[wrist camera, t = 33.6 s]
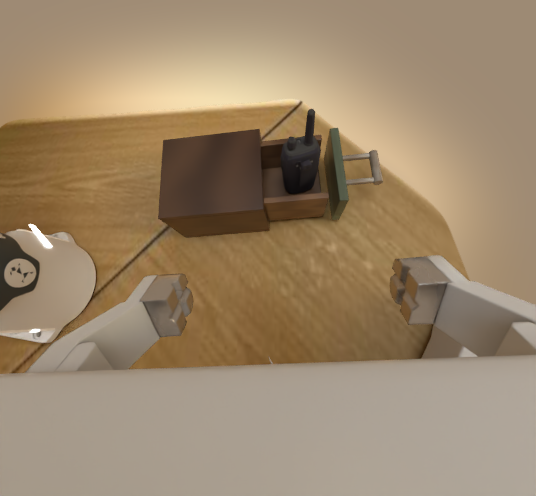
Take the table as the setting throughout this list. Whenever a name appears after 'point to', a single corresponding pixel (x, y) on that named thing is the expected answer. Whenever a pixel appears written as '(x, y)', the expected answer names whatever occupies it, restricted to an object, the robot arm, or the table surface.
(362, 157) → the drawer
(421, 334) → the table surface
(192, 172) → the cabinet
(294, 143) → the two-way radio
